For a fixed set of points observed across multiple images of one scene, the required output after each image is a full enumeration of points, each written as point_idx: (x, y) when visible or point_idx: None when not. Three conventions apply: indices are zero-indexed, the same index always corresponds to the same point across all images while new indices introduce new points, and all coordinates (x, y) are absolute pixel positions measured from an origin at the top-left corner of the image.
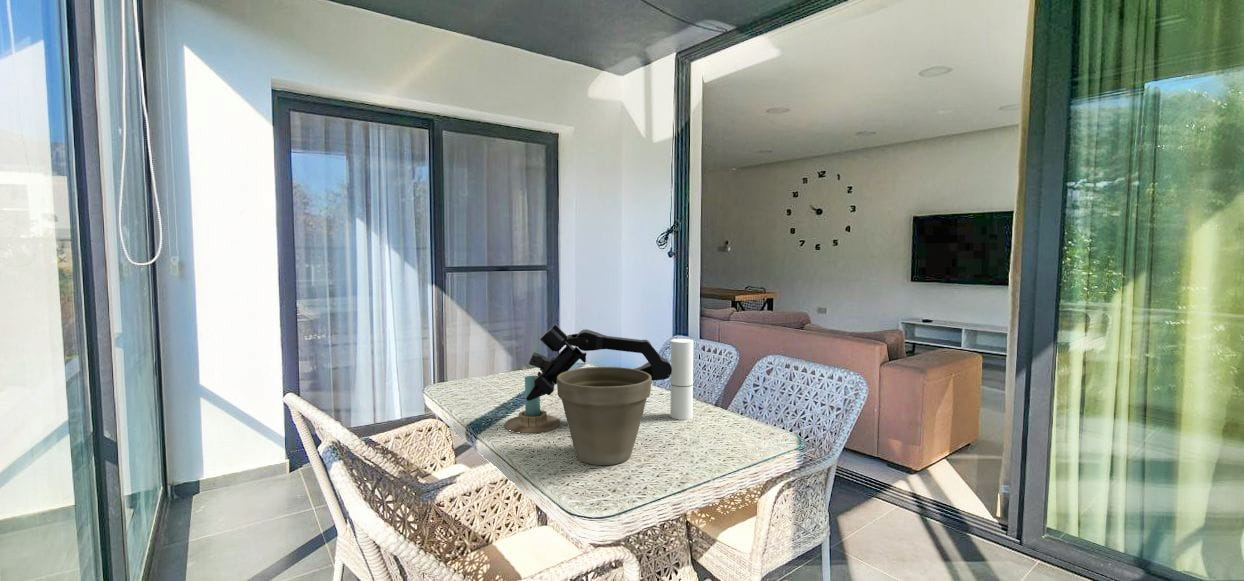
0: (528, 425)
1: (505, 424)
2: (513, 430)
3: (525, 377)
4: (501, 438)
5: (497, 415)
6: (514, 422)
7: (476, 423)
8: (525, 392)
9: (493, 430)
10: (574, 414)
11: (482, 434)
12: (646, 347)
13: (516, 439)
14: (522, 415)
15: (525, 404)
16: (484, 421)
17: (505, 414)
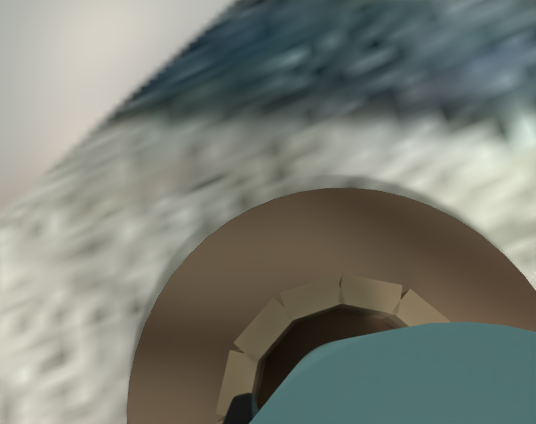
0: None
1: (259, 209)
2: (149, 315)
3: (387, 359)
4: (35, 284)
5: (471, 65)
6: (315, 253)
7: (281, 23)
8: (298, 365)
9: (173, 172)
10: None
11: (96, 142)
12: None
13: (20, 394)
14: (274, 333)
15: (311, 352)
16: (328, 47)
17: (512, 104)
